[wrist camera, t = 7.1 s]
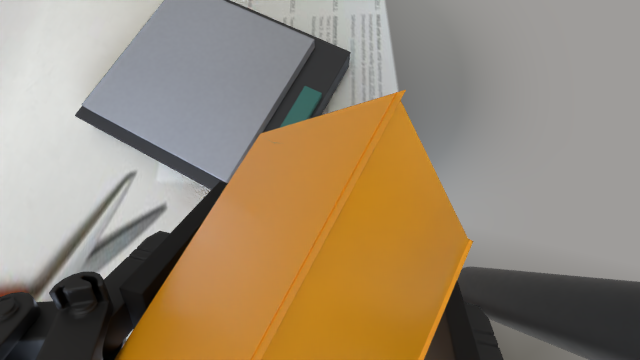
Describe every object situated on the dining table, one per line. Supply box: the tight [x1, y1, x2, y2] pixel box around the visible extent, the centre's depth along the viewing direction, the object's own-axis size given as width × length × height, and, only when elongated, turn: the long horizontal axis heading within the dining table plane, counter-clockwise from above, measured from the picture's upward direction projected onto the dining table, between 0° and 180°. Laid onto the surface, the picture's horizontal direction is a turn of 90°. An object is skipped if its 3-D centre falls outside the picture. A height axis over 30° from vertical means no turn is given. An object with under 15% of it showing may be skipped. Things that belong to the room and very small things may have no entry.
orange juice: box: [114, 90, 473, 360], centre depth 13 cm, size 8×9×20 cm
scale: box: [75, 0, 350, 190], centre depth 25 cm, size 18×16×3 cm
